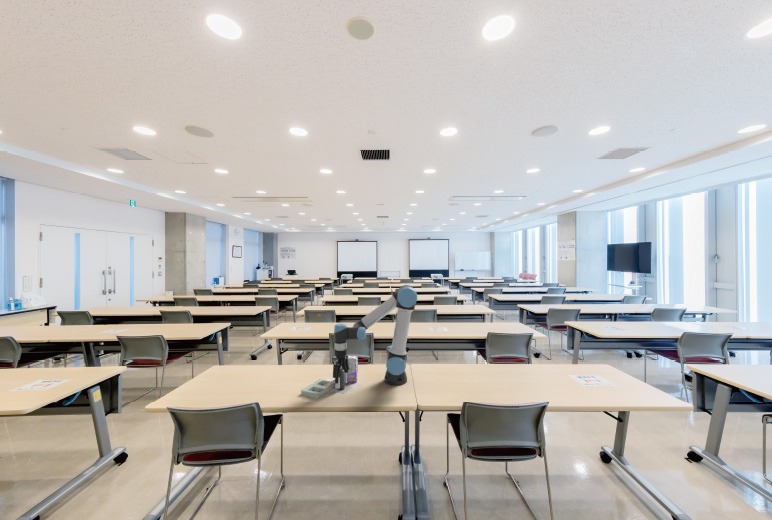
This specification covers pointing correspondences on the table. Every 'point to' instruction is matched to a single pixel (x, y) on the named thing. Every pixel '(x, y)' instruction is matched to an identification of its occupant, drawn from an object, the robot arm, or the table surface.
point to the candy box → (352, 369)
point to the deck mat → (341, 390)
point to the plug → (341, 379)
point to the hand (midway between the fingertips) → (341, 385)
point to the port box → (318, 388)
